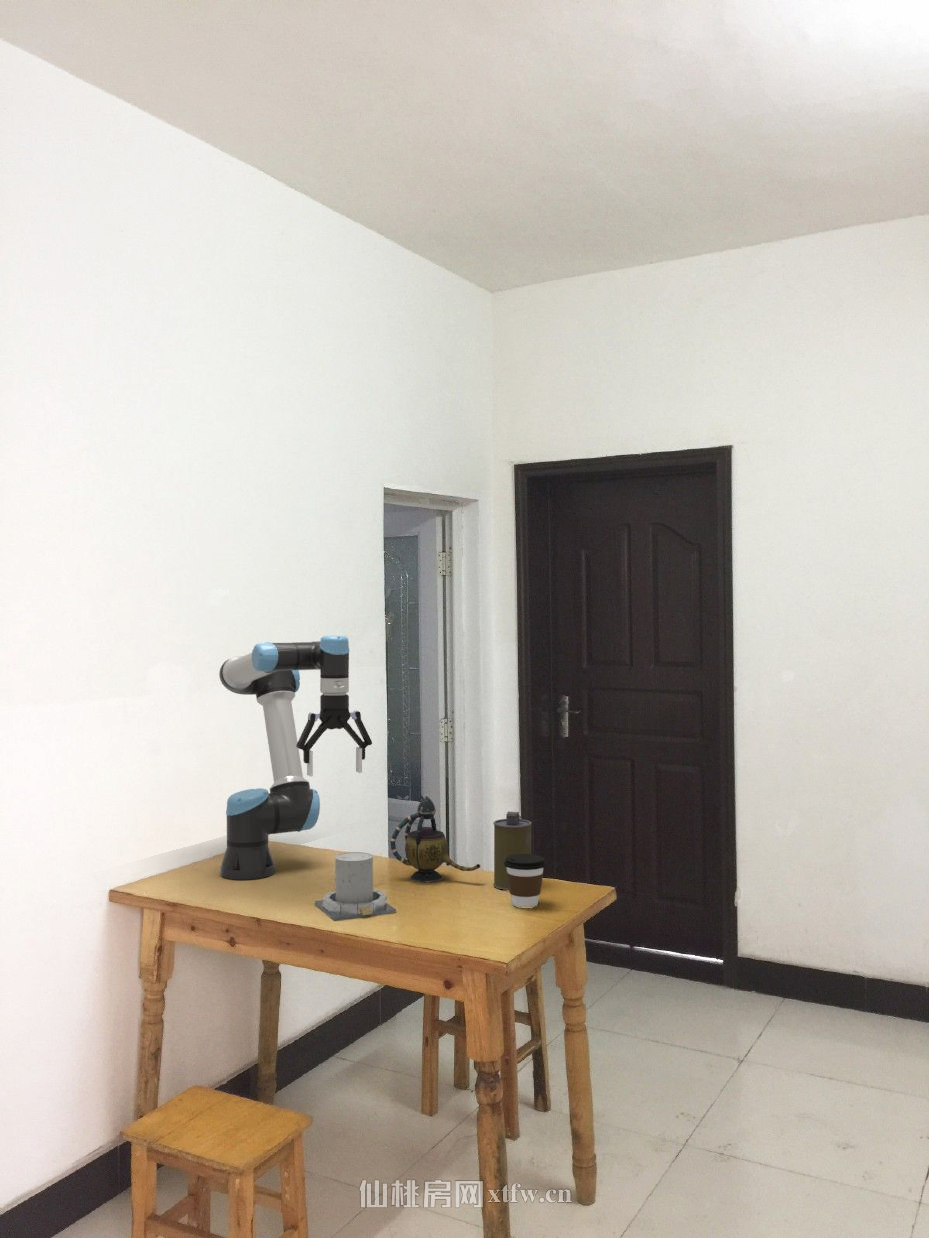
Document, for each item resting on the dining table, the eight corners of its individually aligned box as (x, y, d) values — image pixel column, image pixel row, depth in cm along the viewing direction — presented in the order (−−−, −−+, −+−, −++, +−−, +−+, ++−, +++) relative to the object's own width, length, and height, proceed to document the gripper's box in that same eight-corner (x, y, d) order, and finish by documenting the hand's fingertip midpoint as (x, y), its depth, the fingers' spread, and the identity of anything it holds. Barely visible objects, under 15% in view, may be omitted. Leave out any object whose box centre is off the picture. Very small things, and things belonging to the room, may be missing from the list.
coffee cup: (517, 913, 260) (517, 865, 260) (495, 902, 270) (495, 856, 270) (554, 907, 265) (554, 860, 265) (532, 897, 275) (532, 851, 275)
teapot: (407, 870, 303) (407, 790, 302) (487, 879, 293) (487, 796, 292) (388, 880, 292) (387, 797, 291) (470, 890, 282) (470, 803, 281)
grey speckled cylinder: (345, 898, 271) (345, 850, 271) (379, 901, 268) (379, 853, 268) (328, 908, 262) (328, 858, 262) (363, 911, 259) (363, 862, 259)
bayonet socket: (313, 902, 270) (313, 891, 270) (372, 895, 276) (372, 884, 276) (335, 921, 253) (335, 909, 253) (397, 913, 260) (397, 901, 260)
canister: (528, 892, 280) (528, 817, 280) (490, 889, 282) (490, 815, 282) (534, 881, 291) (534, 809, 290) (497, 879, 293) (497, 807, 292)
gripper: (292, 696, 270) (292, 779, 270) (383, 693, 281) (383, 772, 281) (284, 694, 277) (284, 774, 277) (373, 691, 287) (373, 768, 288)
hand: (334, 773), depth 279 cm, fingers open, 13 cm apart
